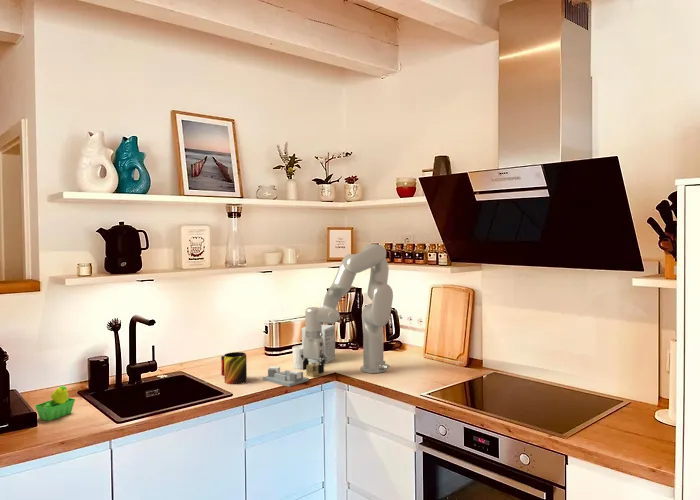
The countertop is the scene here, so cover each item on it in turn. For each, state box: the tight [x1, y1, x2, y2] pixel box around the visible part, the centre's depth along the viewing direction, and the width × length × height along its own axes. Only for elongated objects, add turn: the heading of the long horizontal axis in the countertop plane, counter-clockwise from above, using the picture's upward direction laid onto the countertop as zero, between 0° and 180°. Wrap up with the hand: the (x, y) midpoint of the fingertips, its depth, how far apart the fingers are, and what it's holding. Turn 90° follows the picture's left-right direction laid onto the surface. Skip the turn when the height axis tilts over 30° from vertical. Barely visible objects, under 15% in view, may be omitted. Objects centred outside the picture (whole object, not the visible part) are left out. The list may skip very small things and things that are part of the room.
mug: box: [220, 351, 248, 385], centre depth 237 cm, size 10×14×12 cm
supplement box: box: [301, 324, 336, 365], centre depth 274 cm, size 13×13×18 cm
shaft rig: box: [262, 365, 310, 388], centre depth 238 cm, size 18×12×5 cm
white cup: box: [291, 344, 303, 370], centre depth 260 cm, size 8×8×10 cm
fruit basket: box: [34, 385, 76, 422], centre depth 193 cm, size 11×9×11 cm
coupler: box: [305, 362, 323, 378], centre depth 245 cm, size 6×4×5 cm, turn 140°
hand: (313, 371), depth 245 cm, fingers open, 9 cm apart
